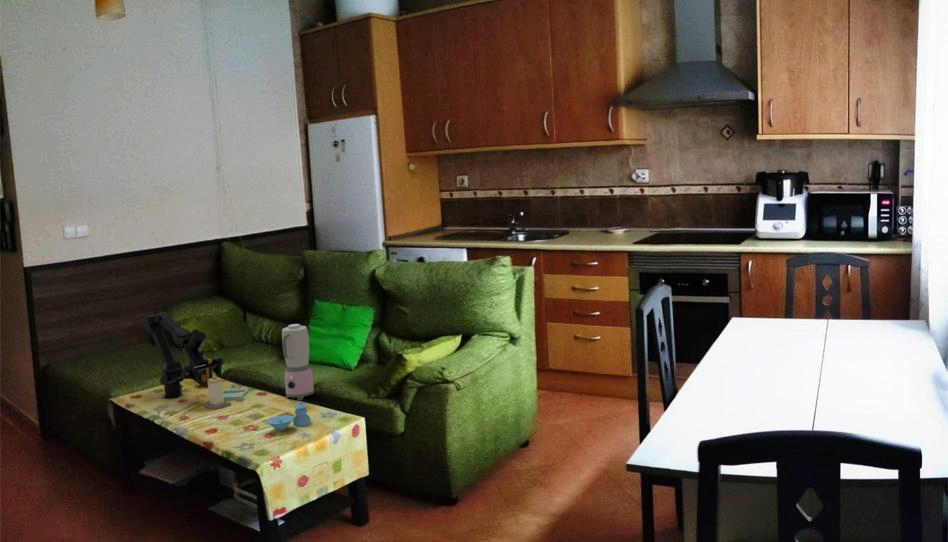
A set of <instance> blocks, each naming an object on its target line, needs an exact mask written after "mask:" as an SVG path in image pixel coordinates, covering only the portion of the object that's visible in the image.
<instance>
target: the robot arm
mask: <svg viewBox="0 0 948 542" xmlns="http://www.w3.org/2000/svg"><path fill="white" fill-rule="evenodd" d="M142 326H143V327H144V328H145V331H146V332H147V333H148V334H149V335H151V336H152V338H153V341H154V344H155V346H156V349H157V351H158V353H159V356H160V359H161V362H162V365H163V366H162V369H161V373H162V375H161V377H160V379H159V382H160V385H162V386H164V387H163V389H164V396H163V398H164V399H173V398H179V397H180V396H182V395H183V387H182V384H181V382H184V380H193V381H194V382H195V383H196V384H197V385H199V384H200V385H201V386H200V385H199V386H200V387H204V386H203V385H204V384H203V382H202V380H201V377H202V373H203V370H204V369H208V368H211V370H212V373H214V374H215V376H216V377H217V378H222V379H223V374H222V366H223V365H224V363H225V360H224V358H222V357H220V356H219V357H216V358H213V359H212V360H211V363H209V364H208V361H209V360H208V359H209V358H206V357H205V358H206V359H205V358H204V355H205V352H203V351H202V350H200V348H201V347H203V344H204V342H205V340H206V338H207V335H206V333H204V332H203V331H200V330H198V329H192V331H190V330H189V329H188V328H184V327H182V326H180V324H178V323H177V322H176V321H175V320H174V319H173V318H172V317H171V316H170V315H169V313H168V312H160V313H156V314H152V315H147V316H145V317H144V318H143V319H142ZM164 329H165V330H166V331H168V333H169V334H170V335H171V336H172V337H173V338H172V339H173V342H174V343H175V344H176V346H177V347H183V346H184V347H183V348H182V351H181V352H182V355H186V356H187V358H188V359H189V362H188V364H189V365H186V366H185V365H184V366H183V365H182V364H181V361H176V360H175V358H174V356H173V354H172V351H171V348H170V346H169V343H168V341H167V338H166V335H165V332H164ZM201 349H202V348H201ZM182 366H183V367H182ZM181 394H182V395H181Z"/></svg>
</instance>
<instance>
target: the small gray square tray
mask: <svg viewBox="0 0 948 542" xmlns="http://www.w3.org/2000/svg"><path fill="white" fill-rule="evenodd" d="M231 405H232V403H231V402H230V401H228V400H225V401H224V404H221V405H218V406H212V405H210V402H208V403H204V404H203V408H205V409H209V410H213V411H216V410H219V409H223V408H226V407H229V406H231Z"/></svg>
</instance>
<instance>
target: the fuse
mask: <svg viewBox="0 0 948 542" xmlns="http://www.w3.org/2000/svg"><path fill="white" fill-rule="evenodd" d="M222 381H223V377H222V378H218V377H217V376H214V377H213V378H212V379H208V387H207V388H208V389H207V390H208V394H209V395H208V397H209V403H210V405H212V406H218V405H221V404H224V396H223V390H224V386H223V382H222Z"/></svg>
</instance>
